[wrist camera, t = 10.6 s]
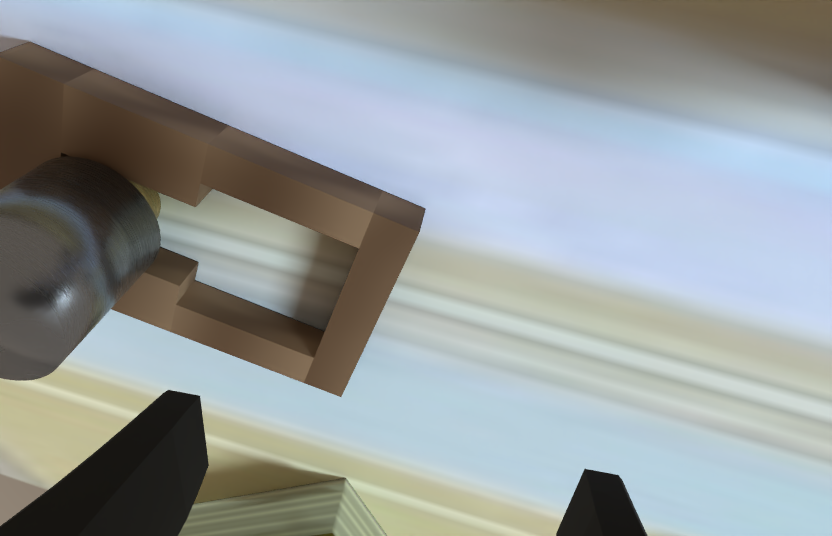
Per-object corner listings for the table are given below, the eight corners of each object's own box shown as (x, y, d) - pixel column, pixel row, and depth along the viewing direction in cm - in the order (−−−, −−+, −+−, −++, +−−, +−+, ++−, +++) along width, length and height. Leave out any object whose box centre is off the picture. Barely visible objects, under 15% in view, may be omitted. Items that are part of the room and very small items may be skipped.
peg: (210, 207, 21) (96, 335, 15) (140, 269, 22) (16, 402, 17) (104, 107, 19) (-67, 208, 13) (39, 183, 21) (-135, 298, 15)
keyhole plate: (425, 208, 19) (419, 232, 18) (350, 369, 24) (341, 397, 23) (30, 41, 18) (-6, 54, 17) (28, 244, 23) (0, 266, 21)
